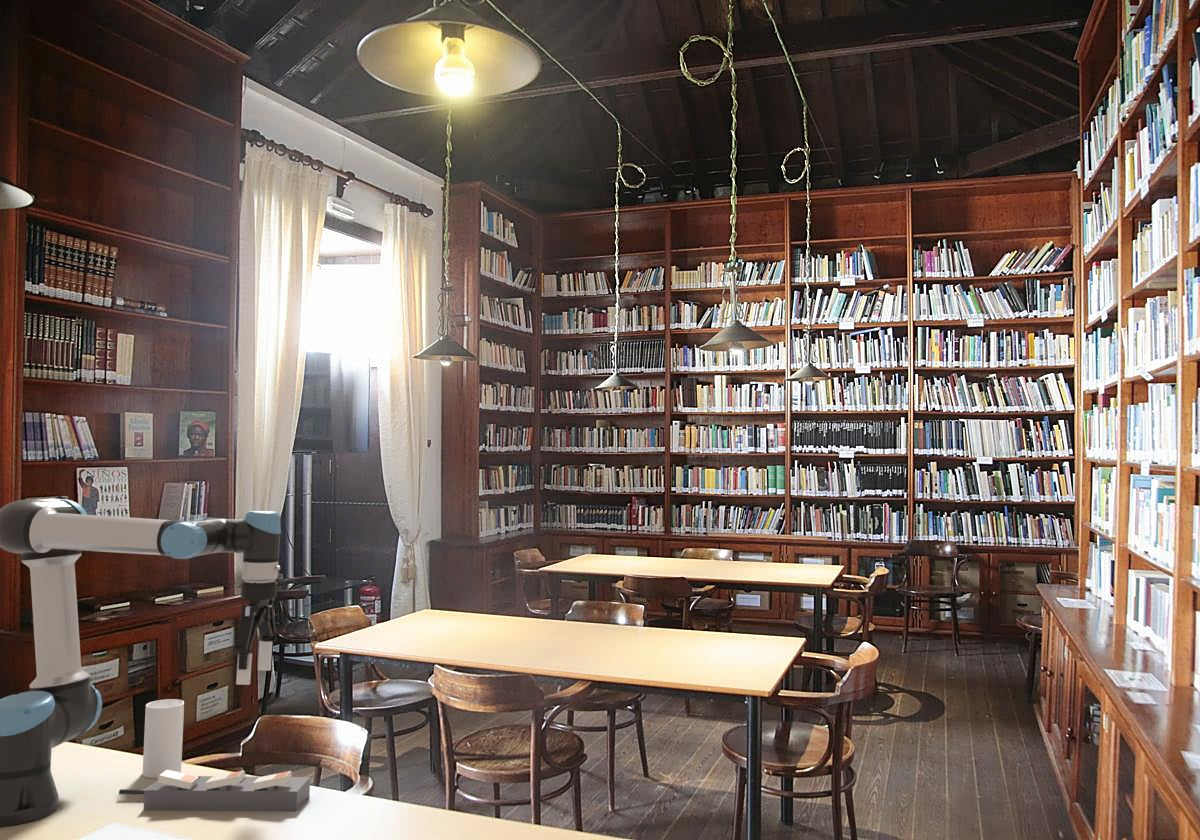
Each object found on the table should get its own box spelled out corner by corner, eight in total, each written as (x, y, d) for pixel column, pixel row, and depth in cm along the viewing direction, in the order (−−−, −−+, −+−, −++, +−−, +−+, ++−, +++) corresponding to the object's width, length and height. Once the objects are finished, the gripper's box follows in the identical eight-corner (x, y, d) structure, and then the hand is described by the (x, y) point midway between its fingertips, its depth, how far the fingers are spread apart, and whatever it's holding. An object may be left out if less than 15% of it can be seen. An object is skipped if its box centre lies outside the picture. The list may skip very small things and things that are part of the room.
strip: (104, 809, 188) (106, 787, 188) (126, 794, 197) (127, 773, 197) (296, 810, 189) (297, 789, 189) (309, 795, 198) (310, 774, 198)
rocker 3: (253, 790, 189) (252, 782, 189) (260, 784, 193) (258, 776, 193) (286, 783, 190) (285, 776, 190) (292, 777, 193) (290, 770, 193)
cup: (188, 767, 215) (191, 699, 216) (168, 779, 207) (171, 708, 208) (155, 765, 216) (158, 698, 217) (134, 777, 208) (138, 707, 209)
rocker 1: (157, 782, 189) (159, 774, 189) (165, 776, 193) (167, 769, 193) (189, 789, 189) (191, 782, 189) (197, 783, 193) (198, 776, 193)
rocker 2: (206, 789, 189) (205, 782, 189) (213, 783, 193) (212, 776, 193) (239, 782, 189) (237, 775, 189) (245, 777, 193) (244, 769, 193)
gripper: (257, 588, 187) (251, 691, 186) (293, 574, 212) (288, 665, 211) (221, 587, 187) (215, 690, 186) (261, 573, 212) (256, 664, 211)
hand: (254, 677), depth 198 cm, fingers open, 13 cm apart
